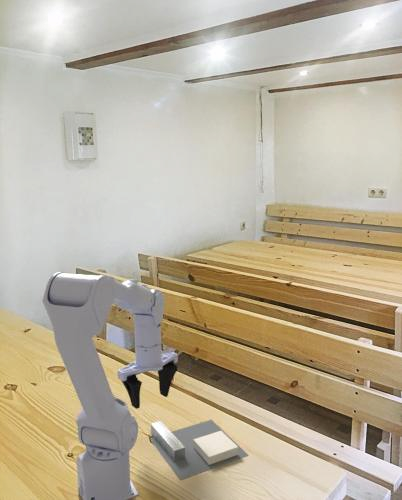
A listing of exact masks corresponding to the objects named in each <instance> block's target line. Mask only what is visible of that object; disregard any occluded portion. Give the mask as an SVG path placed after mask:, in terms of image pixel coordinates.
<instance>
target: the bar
mask: <svg viewBox="0 0 402 500" xmlns="http://www.w3.org/2000/svg"><path fill="white" fill-rule="evenodd" d="M150 434H151V435H152V438H153V437H154V438H155V439H156V440H157V441H158V443H159V444H160V445H161V446H162V447H163V449H164V450H165V451H166V452H167V453H168V454H169V456H170V457H171V458H172V459H173V460H174V462H176V461H179V460H181V459H184V458H185V446H184V445H183V444H182V443H181V442H180V441H179V440H178V439H177V438H176V437H175V436H174V435H173V433H172V431H171V430H170V429H169V428H168V427H167V426H166V425H165V423H163V421H161V420H158V421H155V422H151V423H150Z"/></svg>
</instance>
